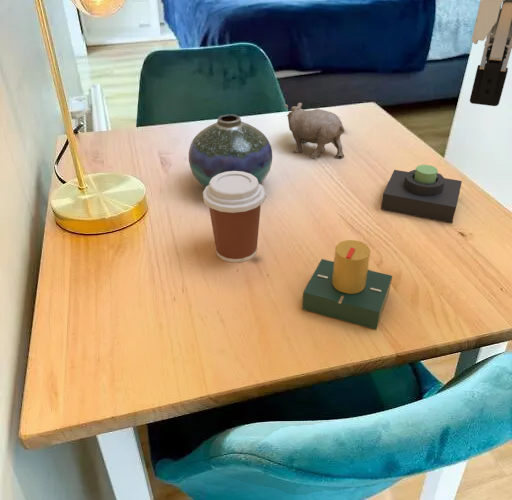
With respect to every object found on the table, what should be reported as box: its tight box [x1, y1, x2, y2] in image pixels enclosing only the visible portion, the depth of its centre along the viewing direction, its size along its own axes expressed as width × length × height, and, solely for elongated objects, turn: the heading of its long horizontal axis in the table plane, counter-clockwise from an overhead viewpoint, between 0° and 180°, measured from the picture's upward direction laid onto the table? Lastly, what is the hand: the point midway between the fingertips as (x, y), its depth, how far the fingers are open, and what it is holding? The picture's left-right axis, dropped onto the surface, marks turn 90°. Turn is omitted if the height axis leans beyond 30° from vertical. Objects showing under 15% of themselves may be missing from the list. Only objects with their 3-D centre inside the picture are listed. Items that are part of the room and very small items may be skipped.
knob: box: [332, 239, 371, 294], centre depth 66 cm, size 4×4×6 cm
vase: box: [188, 113, 273, 189], centre depth 93 cm, size 15×15×13 cm
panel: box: [301, 258, 393, 331], centre depth 68 cm, size 10×9×3 cm
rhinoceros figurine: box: [284, 102, 346, 160], centre depth 107 cm, size 8×14×15 cm
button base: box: [380, 169, 463, 224], centre depth 89 cm, size 12×10×5 cm
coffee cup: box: [202, 171, 267, 264], centre depth 76 cm, size 9×9×12 cm
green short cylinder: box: [414, 164, 439, 184], centre depth 87 cm, size 4×4×2 cm
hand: (483, 102), depth 60 cm, fingers closed
